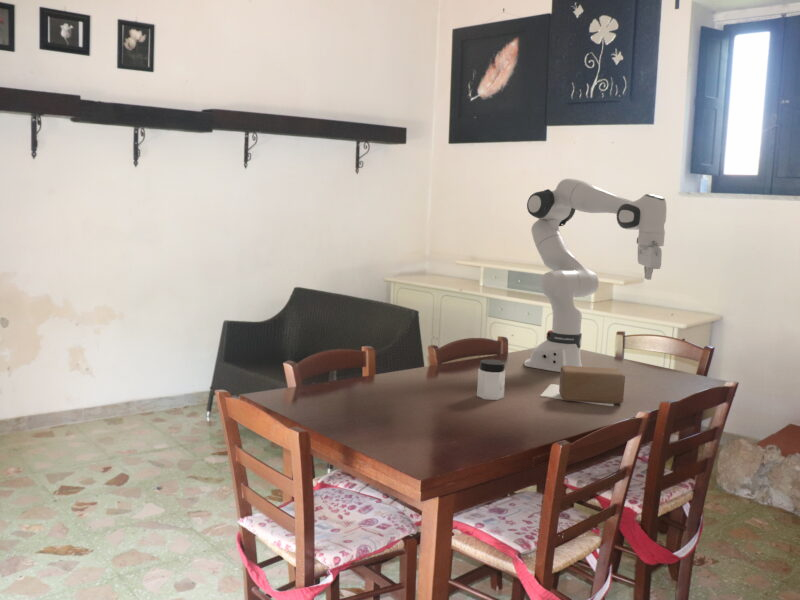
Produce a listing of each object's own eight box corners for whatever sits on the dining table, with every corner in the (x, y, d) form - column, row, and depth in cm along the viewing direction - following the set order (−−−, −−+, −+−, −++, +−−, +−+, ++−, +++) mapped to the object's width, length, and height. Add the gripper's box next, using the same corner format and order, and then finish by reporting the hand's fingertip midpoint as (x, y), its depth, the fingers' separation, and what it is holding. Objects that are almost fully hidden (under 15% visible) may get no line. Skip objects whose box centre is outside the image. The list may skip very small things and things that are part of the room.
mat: (540, 396, 271) (540, 395, 271) (550, 385, 288) (550, 383, 288) (612, 406, 262) (613, 405, 262) (619, 393, 279) (619, 392, 279)
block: (625, 375, 262) (564, 371, 263) (623, 404, 263) (562, 401, 265) (620, 368, 272) (560, 364, 273) (617, 396, 273) (558, 393, 275)
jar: (494, 401, 262) (496, 366, 260) (473, 397, 267) (475, 362, 265) (507, 396, 269) (509, 361, 268) (486, 392, 274) (488, 357, 272)
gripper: (667, 242, 274) (664, 283, 276) (653, 239, 294) (650, 276, 296) (648, 242, 274) (645, 282, 276) (635, 238, 294) (632, 275, 296)
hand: (647, 279), depth 286 cm, fingers closed
